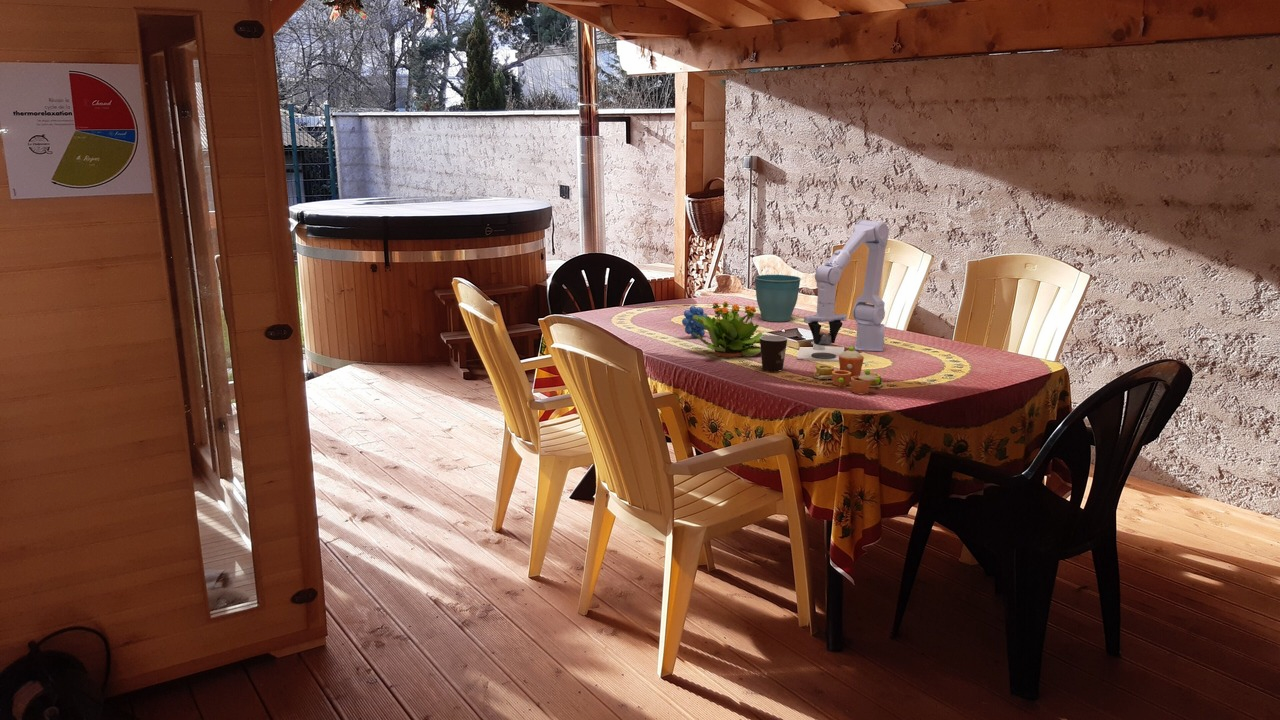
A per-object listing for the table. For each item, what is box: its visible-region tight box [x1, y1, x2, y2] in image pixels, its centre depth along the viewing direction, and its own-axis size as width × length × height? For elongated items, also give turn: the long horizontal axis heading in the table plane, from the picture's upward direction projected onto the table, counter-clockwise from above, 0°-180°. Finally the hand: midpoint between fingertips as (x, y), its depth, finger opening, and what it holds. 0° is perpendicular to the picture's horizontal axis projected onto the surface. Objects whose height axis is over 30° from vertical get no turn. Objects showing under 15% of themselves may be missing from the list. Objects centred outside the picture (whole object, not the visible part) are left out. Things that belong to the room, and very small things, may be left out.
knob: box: [816, 330, 833, 346], centre depth 313 cm, size 5×5×4 cm
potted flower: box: [692, 300, 768, 358], centre depth 317 cm, size 25×24×18 cm
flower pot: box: [754, 274, 802, 323], centre depth 377 cm, size 18×18×17 cm
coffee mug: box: [759, 334, 788, 372], centre depth 299 cm, size 12×9×10 cm
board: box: [796, 340, 845, 362], centre depth 319 cm, size 15×20×4 cm
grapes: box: [681, 305, 708, 339], centre depth 342 cm, size 12×7×12 cm, turn 123°
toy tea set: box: [812, 346, 884, 394], centre depth 281 cm, size 26×16×10 cm, turn 21°
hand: (824, 343), depth 313 cm, fingers closed on knob, 5 cm apart
